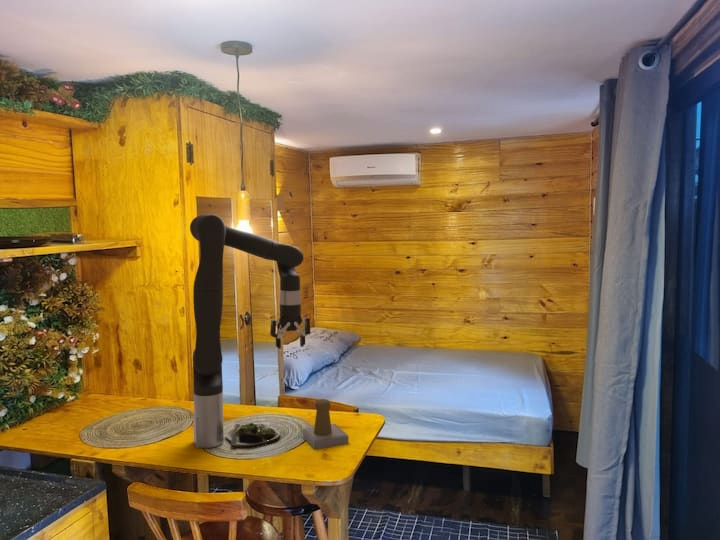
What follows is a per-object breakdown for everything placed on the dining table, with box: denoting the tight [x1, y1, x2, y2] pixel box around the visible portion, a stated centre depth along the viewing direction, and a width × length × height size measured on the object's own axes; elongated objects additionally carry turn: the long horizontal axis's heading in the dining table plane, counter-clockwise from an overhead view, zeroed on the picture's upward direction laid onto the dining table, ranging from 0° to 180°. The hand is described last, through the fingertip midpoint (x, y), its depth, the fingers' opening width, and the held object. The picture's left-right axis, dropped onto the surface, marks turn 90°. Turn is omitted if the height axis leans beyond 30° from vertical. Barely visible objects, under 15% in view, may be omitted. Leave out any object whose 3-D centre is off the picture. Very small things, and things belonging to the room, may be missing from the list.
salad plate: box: [225, 422, 281, 449], centre depth 186 cm, size 19×18×5 cm
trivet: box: [301, 423, 349, 450], centre depth 183 cm, size 12×12×3 cm
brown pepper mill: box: [313, 398, 332, 436], centre depth 182 cm, size 6×6×11 cm
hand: (290, 347), depth 196 cm, fingers open, 8 cm apart
